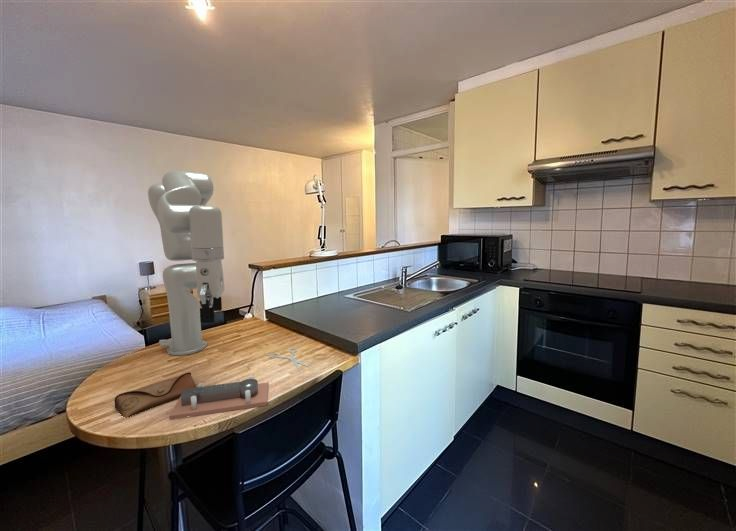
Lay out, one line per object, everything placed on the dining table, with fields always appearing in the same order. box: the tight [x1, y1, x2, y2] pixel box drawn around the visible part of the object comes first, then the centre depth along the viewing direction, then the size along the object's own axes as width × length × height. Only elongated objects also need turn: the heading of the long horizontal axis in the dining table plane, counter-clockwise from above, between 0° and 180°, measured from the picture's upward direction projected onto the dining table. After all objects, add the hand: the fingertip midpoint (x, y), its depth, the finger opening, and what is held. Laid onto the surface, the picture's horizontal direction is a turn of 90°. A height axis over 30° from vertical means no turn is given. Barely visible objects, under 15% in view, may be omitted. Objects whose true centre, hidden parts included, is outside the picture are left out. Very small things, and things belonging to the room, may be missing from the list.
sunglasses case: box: [113, 372, 197, 419], centre depth 82 cm, size 18×7×7 cm, turn 138°
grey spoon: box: [181, 378, 259, 406], centre depth 80 cm, size 18×5×3 cm, turn 106°
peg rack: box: [168, 374, 269, 420], centre depth 81 cm, size 22×10×4 cm, turn 105°
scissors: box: [264, 347, 313, 372], centre depth 105 cm, size 11×1×20 cm
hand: (212, 316), depth 84 cm, fingers open, 9 cm apart
